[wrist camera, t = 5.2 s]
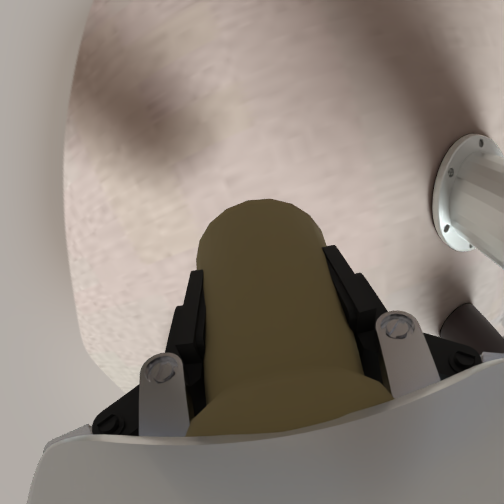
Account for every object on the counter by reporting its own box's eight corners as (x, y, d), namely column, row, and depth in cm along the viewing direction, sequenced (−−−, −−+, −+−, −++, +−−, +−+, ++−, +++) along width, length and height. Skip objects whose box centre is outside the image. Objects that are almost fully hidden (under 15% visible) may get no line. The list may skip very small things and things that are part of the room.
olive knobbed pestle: (312, 314, 15) (375, 519, 5) (197, 310, 14) (175, 538, 4) (338, 205, 12) (515, 432, 2) (197, 194, 11) (99, 509, 2)
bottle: (460, 297, 29) (547, 405, 11) (478, 306, 30) (553, 398, 13) (431, 337, 31) (502, 449, 13) (452, 341, 33) (516, 437, 15)
